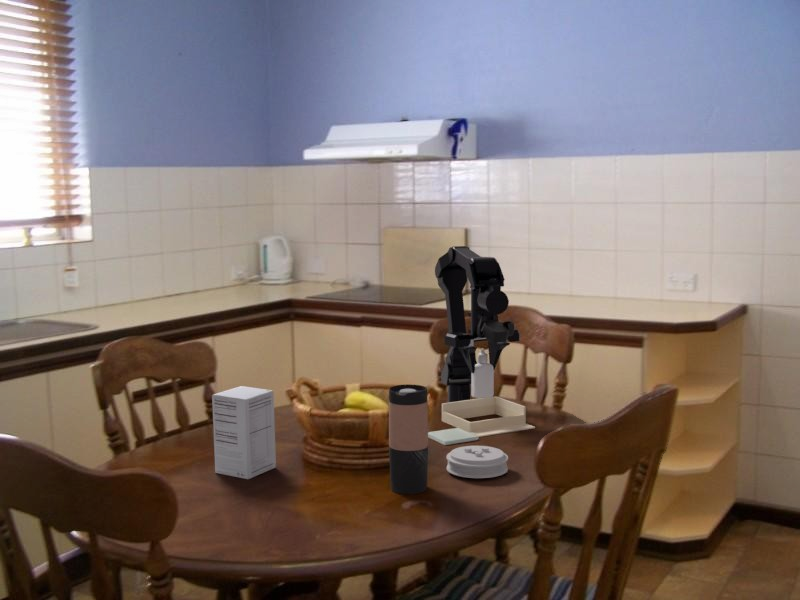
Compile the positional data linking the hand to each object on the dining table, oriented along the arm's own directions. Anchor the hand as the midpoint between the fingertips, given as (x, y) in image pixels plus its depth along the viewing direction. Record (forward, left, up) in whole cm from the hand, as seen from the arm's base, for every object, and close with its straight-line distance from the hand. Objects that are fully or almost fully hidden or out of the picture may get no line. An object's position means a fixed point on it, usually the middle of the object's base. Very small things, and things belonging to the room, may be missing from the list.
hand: (482, 371), depth 234 cm
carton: (+2, 0, -13) cm, 13 cm away
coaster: (+8, -14, -13) cm, 20 cm away
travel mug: (+35, -40, -13) cm, 55 cm away
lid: (+33, -23, -13) cm, 42 cm away
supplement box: (+8, -64, -13) cm, 66 cm away
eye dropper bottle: (0, 0, -6) cm, 6 cm away
